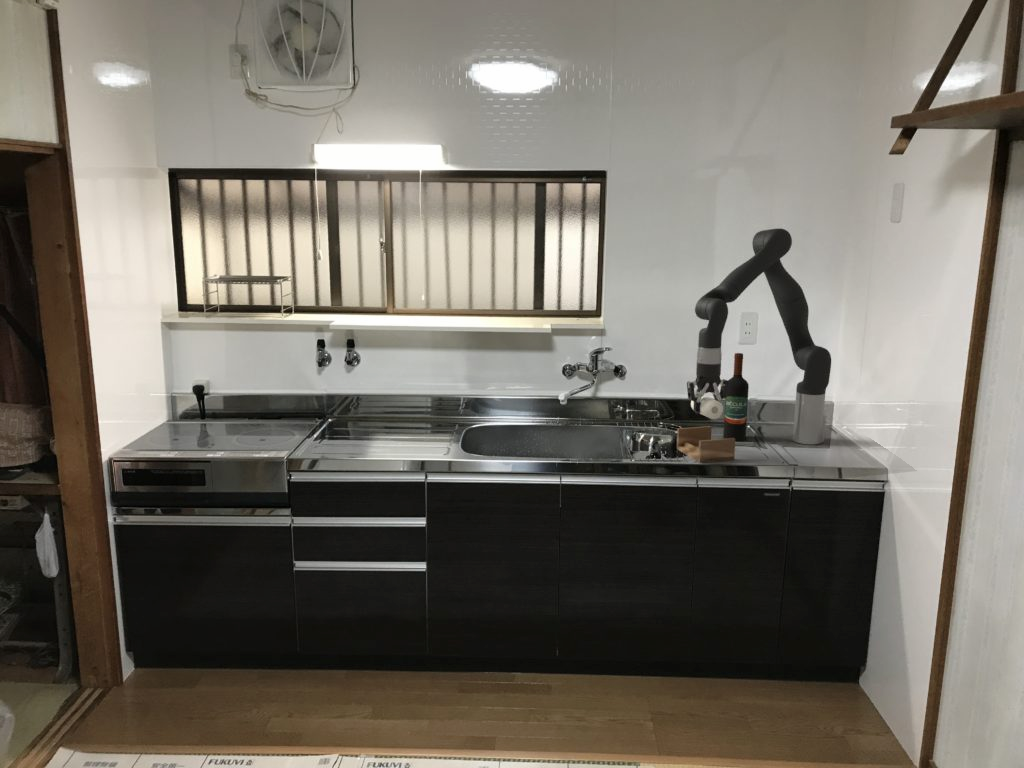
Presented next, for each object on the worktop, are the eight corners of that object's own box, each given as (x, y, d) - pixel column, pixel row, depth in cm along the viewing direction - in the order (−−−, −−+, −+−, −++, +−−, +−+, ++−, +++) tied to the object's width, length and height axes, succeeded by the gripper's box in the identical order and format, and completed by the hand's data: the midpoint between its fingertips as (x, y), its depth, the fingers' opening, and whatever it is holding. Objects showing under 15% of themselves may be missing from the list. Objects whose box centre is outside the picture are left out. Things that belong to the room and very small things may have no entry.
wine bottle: (748, 437, 265) (752, 352, 259) (742, 442, 258) (747, 356, 252) (726, 434, 268) (730, 351, 262) (720, 439, 262) (724, 354, 256)
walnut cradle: (676, 448, 252) (677, 428, 250) (709, 446, 255) (710, 425, 253) (699, 463, 237) (700, 441, 235) (734, 459, 239) (735, 438, 238)
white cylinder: (687, 403, 246) (699, 390, 247) (698, 415, 248) (710, 401, 248) (702, 411, 236) (715, 397, 237) (714, 423, 238) (727, 409, 238)
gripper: (723, 358, 245) (720, 408, 248) (682, 360, 241) (680, 411, 245) (735, 361, 237) (732, 413, 241) (693, 364, 234) (691, 416, 237)
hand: (706, 412), depth 243 cm, fingers closed on white cylinder, 6 cm apart
